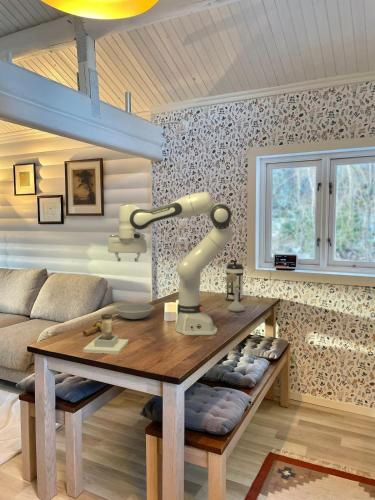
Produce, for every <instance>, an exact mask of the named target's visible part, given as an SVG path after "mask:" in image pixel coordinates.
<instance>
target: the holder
mask: <svg viewBox="0 0 375 500" xmlns="http://www.w3.org/2000/svg"><path fill="white" fill-rule="evenodd" d="M128 344H129V339H123V338H119V335H117V334H115V335H113V334H112V340H102V334H100V335H99V336H97V337H95V338H94V339H93V340H91V342H90V343H88V344H87V345H86V346H84V348H83V349H82V353H86V354H87V353H88V354H89V353H90V354H102V353H104V355H105V353H106V355H119V354H120V353H121V352H122V351H123V350H124V348H125V347H126V346H127V345H128Z"/></svg>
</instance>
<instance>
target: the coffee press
mask: <svg viewBox="0 0 375 500" xmlns="http://www.w3.org/2000/svg"><path fill="white" fill-rule="evenodd" d="M225 267H226V268H225V269H226V274H225V275H226V276H227V275H228V274H230V273H231V274H232V273H234V275H235V274H236V275H237V279H236V280H235V282H233V284H232V283H229V282H226V285H225V286H226V287H225V288H226V292H225V294H226V295H225V296H226V298H225V301H226V302H229V300H233V301H234V300H235V295H234V291H233V290H235V289H237V290H240V292H239V294H238V301H239V303H241V302H242V300H243V299H244V298H243V289H244V288H243V285H244V284H243V283H244V269H245V267H244V265H243V264H242V263H237V260H236V259H234V260H233V263H229V264H227V266H225ZM229 285H232V286H234V287H236V286H238V285H240V287H238V288H234V287H232V288H227V286H229Z"/></svg>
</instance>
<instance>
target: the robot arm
mask: <svg viewBox="0 0 375 500" xmlns="http://www.w3.org/2000/svg"><path fill="white" fill-rule="evenodd" d="M202 214H203V215H204V214H207V215H208V216H209V220H210V221H211V222H212V223H213V227H212V229H211V230H210V231H209V232H208V233H207V234H206V235H205V236H204V237H203V238H202V239H201V240H200V241H199V242H198V243H197V245H196V246H195V247H194V248H192V249H191V250H190V252H189V253H187V254H186V255H185V256H184V258H183V259H181V260H180V261H179V262H178V264H177V268H176V272H177V275H178V277H179V286H178V303H177V309H176V310H177V311H176V312H177V320H176V326H175V330H174V331H175V332H177V333H179V334H182V335H184V336H215V335H216V334H217V333H218V327H216V326H215V325H214V322H213V319H212V317H211V316H209V315H208V314H207V313H206V312H204V306H203V304H200V287H201V277H202V274H201V273H202V271H203V270H204V269H205V268H206V267H207V266H208V265H209V263H211V262H212V260H213V259H215V258H216V257H217V255H218V254H219V253H220V252H221V251H222V250H223V249H224V248H225V247H226V246H227V245H228V244H229V242H230V240H232V238H233V237H234V230H233V228H232V227H231V226H230V223H231V219H232V211H231V208H230V206H228V205H227V204H226V203H224V202H220V201H215V200H214V198H213V196H212V194H211V193H210V192H207V191H202V192H194V193H191V194H188V195H184V196H182V197H180V198H177V199H176V200H173V202H170V203H168V204H166V205H162V206H158V207H156V208H155V207H154V208H152V209H143V208H140V207H138V206H137V205H136V204H135V203H125V204H122V205H120V206H119V209H118V225H119V226H118V234H110V235H109V236H108V238H107V241H108V243H107V244H108V246H107V251H108V252H109V253H110V254H113V253H114V256H115V257H116V262H121V261H122V260H121V259H122V258H121V257H119V255H120V253H121V254H124V253H125V254H129V253H130V254H136V257H135V258H134V262H135V263H137V262H139V258H140V256H141V254H146V252H147V251H148V247H147V241H146V239H145V234H144V233H142V232H141V233H140V232H138V231H139V230H140V231H141V230H145V229H149V228H150V227H152V226H153V224H154V223H155V222H158V221H162V220H165V219H169V218H178V219H181V218H182V219H185V218H191V217H195V216H198V215H202ZM137 230H138V231H137Z"/></svg>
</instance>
